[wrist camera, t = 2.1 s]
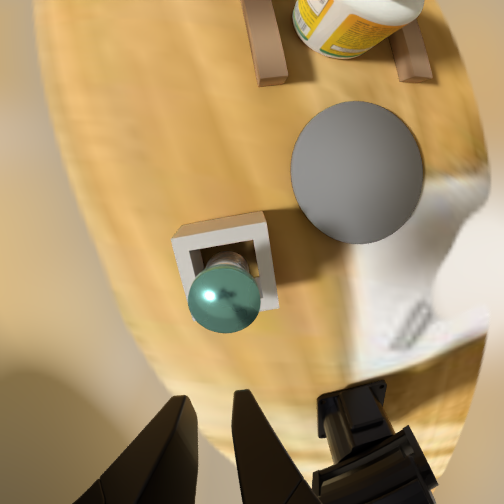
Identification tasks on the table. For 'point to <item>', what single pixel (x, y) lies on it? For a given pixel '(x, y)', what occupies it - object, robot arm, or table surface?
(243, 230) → the plunger block
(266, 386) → the table surface
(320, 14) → the supplement bottle
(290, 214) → the table surface
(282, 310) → the table surface
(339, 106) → the rubber pad
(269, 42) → the housing rails
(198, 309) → the plunger
